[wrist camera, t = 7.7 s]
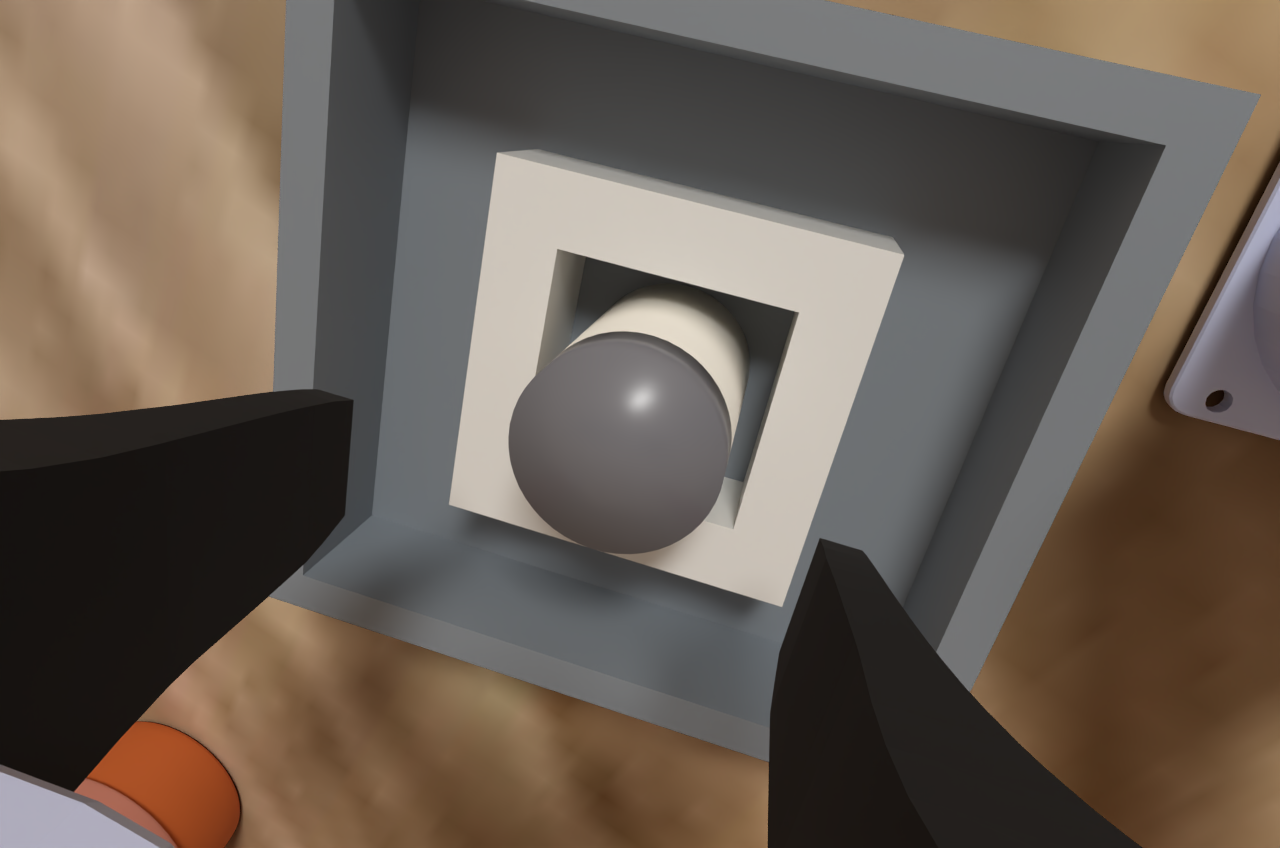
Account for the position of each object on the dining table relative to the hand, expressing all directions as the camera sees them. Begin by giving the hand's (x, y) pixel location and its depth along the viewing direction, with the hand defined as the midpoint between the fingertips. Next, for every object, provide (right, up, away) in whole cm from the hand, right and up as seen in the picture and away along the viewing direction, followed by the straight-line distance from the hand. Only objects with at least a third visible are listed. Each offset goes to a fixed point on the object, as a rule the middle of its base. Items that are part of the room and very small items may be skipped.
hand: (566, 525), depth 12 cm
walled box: (+2, +3, +9) cm, 9 cm away
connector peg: (+2, +3, +8) cm, 9 cm away
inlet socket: (+2, +3, +9) cm, 9 cm away
